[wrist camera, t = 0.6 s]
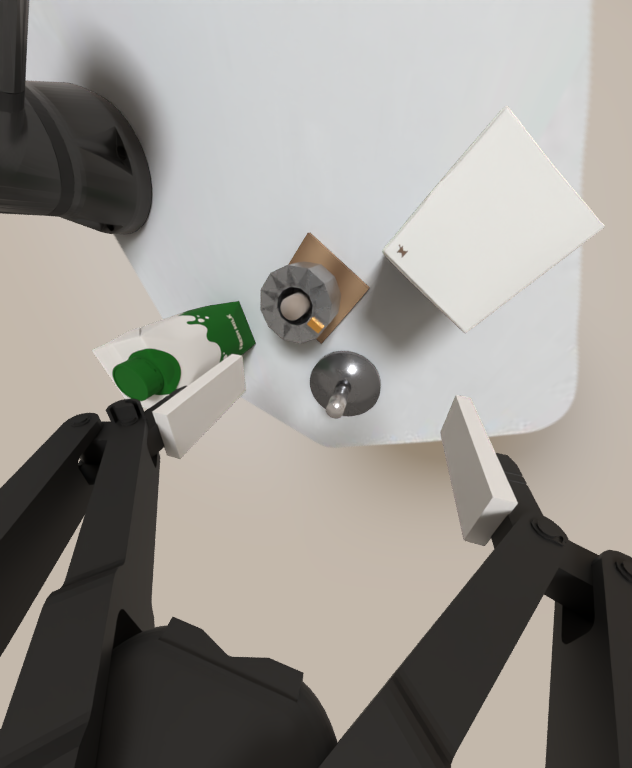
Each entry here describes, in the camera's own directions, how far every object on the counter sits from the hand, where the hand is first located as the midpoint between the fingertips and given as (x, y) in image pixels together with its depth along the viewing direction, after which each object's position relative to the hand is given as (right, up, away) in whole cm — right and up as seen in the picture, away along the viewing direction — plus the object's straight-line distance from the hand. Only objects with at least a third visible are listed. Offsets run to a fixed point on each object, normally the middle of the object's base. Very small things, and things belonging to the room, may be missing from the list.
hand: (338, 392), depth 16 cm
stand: (-1, +13, +19) cm, 23 cm away
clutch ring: (-2, +11, +16) cm, 19 cm away
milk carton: (-15, +10, +26) cm, 32 cm away
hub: (+3, +1, +25) cm, 25 cm away
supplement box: (+13, +17, +13) cm, 25 cm away
